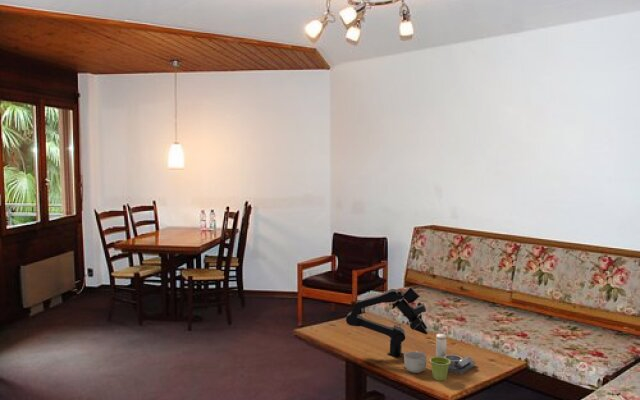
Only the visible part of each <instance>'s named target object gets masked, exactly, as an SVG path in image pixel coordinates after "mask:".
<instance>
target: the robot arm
mask: <svg viewBox="0 0 640 400" xmlns="http://www.w3.org/2000/svg"><path fill="white" fill-rule="evenodd" d="M420 297H421V295H420V294H419V292H418V291H417V290H416V289H414V288H413V287H412V286H409V287H408V288H407V290H406V291H405V292H403V291H399V290H397V289H395V288H391V289H389V290H386V291H384V292H383V293H381V294H379V295H374V296H371V297H368V298H364V299H359V300H357V301H356V302H355V304H354V306H353V308H352V310H351V311H350V312H349V313H348V314H347V316H346V318H345V321H346V325H349V326H351V327H362V328H365V329H368V330H371V331H374V332H376V333H380V334H383V335H385V336H387V337H389V338H390V339H389V352H387V355H388V356H392V357H394V358H400V357H401V356H404V354H405V353H403V352H402V346H403V345H402V343H404V341H405V340H406V331H405V330H404V328H402V326H397V325H396V324H393V326H387V325H384V324H381V323H378V322H375V321H374V320H373V321H372V320H370V319H367V318H364V317H363V316H362V315H361V314H360V311H361V310H362V309H364V308H367V307H371V306H375V305H379V304H382V303H383V304H384V303H390V304H391V305H392V310H393V309H395V308H397V309H398V311H399V312H400V313H401V314H402V316H403V317H405V318H406V319H407V320H408V323H409V327H410V328H411V330H413V331H417V332H419V333H421V334H424V335H427V334H429V333H428V332H427V329H428V326H427V325H426V323H425V322H424V320H423V317H422V316H423V315H422V313H425V312H427V308H426V306H425V304H424V303H422V302H417V305H416V306H415V307H414V306H412V305H410V304H413V303H414V302H416V301H417V300H418V299H419V298H420Z"/></svg>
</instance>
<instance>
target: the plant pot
mask: <svg viewBox="0 0 640 400" xmlns="http://www.w3.org/2000/svg"><path fill="white" fill-rule="evenodd" d="M429 361H430V364H431V370H432V371H431V372H432V378H433V380H436V381H439V382H441V381H446V380H447V377H448V372H449V371H448V367H449V364H450V362H451V361H450V360H449V359H446V358H443V357H436V356H435V357H431V358H430V359H429Z"/></svg>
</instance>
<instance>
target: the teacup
mask: <svg viewBox="0 0 640 400" xmlns="http://www.w3.org/2000/svg"><path fill="white" fill-rule="evenodd" d="M403 357H404V358H403V360H404V362H403V363H404V367H405V369H406V370H407V371H408V372H409V373H413V374H419V373H422V372H423V371H425V370H426V369H427V368H426V367H427V354H426V353H424V352H421V351H420V350H416V351H408V352H405V353H404V354H403Z"/></svg>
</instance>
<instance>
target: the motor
mask: <svg viewBox="0 0 640 400" xmlns="http://www.w3.org/2000/svg"><path fill="white" fill-rule="evenodd" d="M444 358H446V359H449V360H450V361H451V362H450V364H449V367H448V372H450V373H452V374H457V375H460V376H461V375H463V374H464V373H466V372H468V371H469V370H470V369H473V367H476V361H473V359H472V357H471V356H466V357H464V358H463V357H462V356H460V355H456V354H446V356H444Z"/></svg>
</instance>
